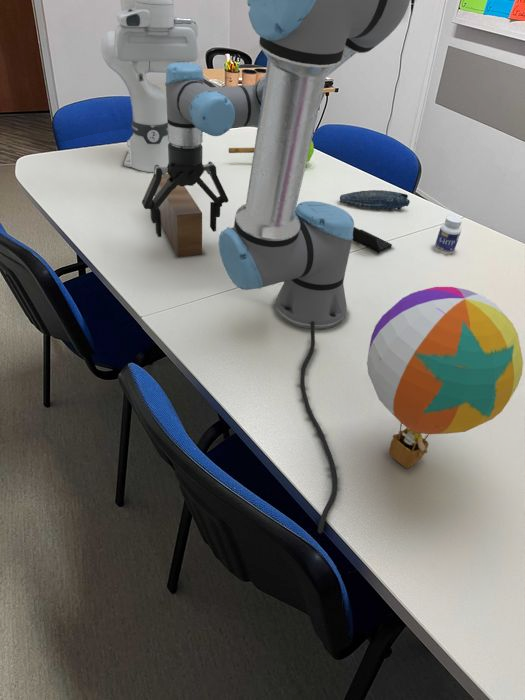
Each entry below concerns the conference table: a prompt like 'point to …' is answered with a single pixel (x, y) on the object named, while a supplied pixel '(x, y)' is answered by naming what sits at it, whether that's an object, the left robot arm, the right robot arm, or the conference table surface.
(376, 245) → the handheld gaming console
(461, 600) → the conference table surface
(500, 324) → the toy
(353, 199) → the fish model
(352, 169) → the conference table surface
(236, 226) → the right robot arm
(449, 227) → the pill bottle
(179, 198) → the box
